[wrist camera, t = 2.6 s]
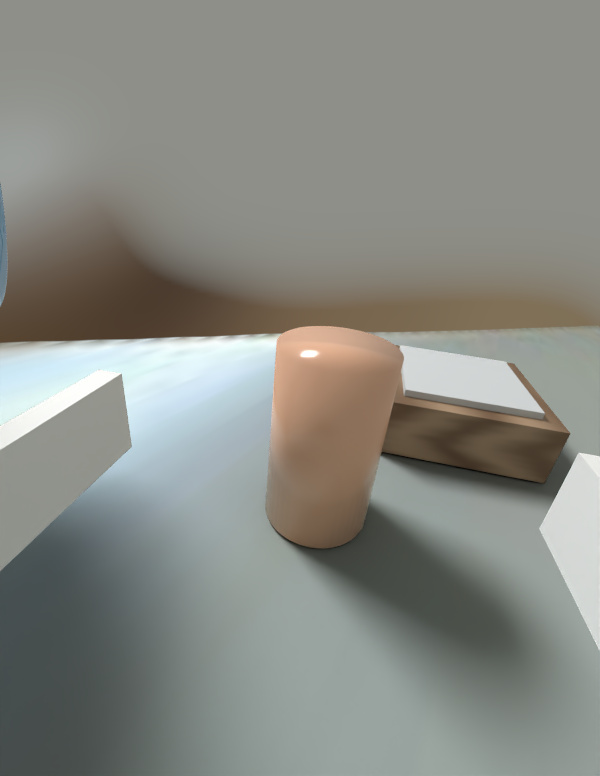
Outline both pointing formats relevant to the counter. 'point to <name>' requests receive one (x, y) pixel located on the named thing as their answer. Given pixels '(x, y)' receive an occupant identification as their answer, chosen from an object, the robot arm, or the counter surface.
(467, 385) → the walnut base
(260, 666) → the counter surface
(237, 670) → the counter surface
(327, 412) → the peach glossy cylinder
